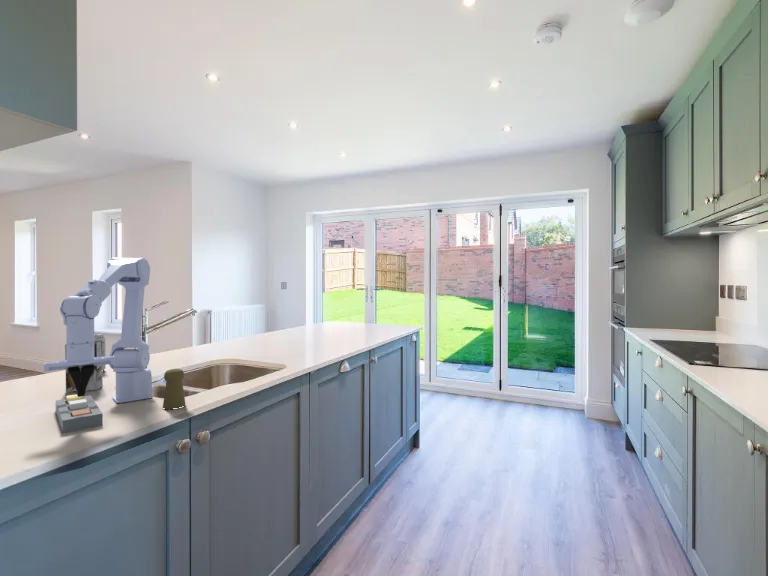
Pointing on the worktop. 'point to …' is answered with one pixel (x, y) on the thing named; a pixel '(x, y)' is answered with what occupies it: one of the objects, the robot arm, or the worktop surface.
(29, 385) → the worktop surface
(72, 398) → the brass key
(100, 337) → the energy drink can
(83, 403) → the grey key
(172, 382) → the cork
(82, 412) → the terracotta key
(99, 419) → the keypad
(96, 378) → the coffee box
